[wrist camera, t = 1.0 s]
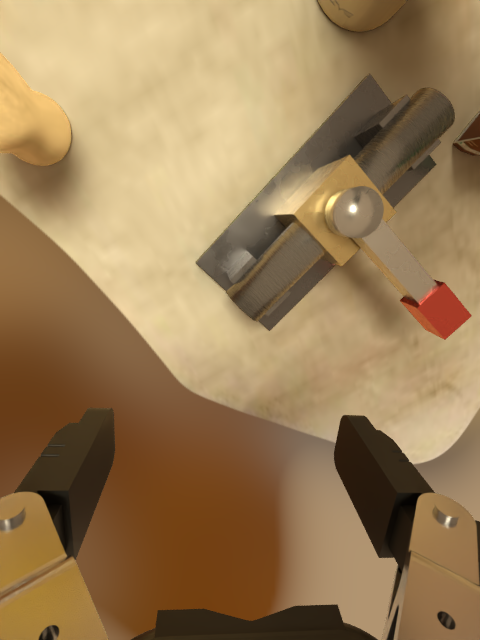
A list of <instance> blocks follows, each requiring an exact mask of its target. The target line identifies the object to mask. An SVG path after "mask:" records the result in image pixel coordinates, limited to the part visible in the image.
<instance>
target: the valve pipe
mask: <svg viewBox="0 0 480 640" xmlns="http://www.w3.org/2000/svg"><path fill="white" fill-rule="evenodd" d="M454 119H455V113H454V109H453V107H452V104H451V103H450V101H449V100H448V99H447V98H446V96H444V95H443V94H442V93H441V92H439V91H437V90H435V89H432V88H422V89H420V90H418V91H417V92H416V93H415V94H414V96H413V97H412V98H411V99H410V98H409V97H408V96H407V95H405V96H403V97H402V98H400V99H398V100H397V101H395V102H394V103H391V102H390V101H389V99H388V98H387V96H386V95H385V94H384V92H383V91H382V90H381V88H380V87H379V85H378V84H377V83H376V81H375V80H374V79H373V77H372V76H371V75H370V74H369V75H367V76H366V77H365V78H364V79H363V80H362V81H361V83H360V84H359V85H358V86H357V87H356V88H355V89H354V90H353V91H352V92H351V93H350V95H349V96H348V97H347V98H346V99H345V100H344V101H343V102H342V103H341V104H340V105H339V106H338V108H337V109H336V110H335V111H334V112H333V113H332V114H331V115H330V116H329V117H328V118H327V120H326V121H325V122H324V123H323V124H322V125H321V126H320V127H319V128H318V129H317V130H316V132H315V133H314V134H313V135H312V136H311V137H310V138H309V139H308V140H307V141H306V142H305V143H304V145H303V146H302V147H301V148H300V149H299V150H298V151H297V152H296V153H295V154H294V155H293V157H292V158H291V159H290V160H289V161H288V162H287V163H286V164H285V165H284V166H283V167H282V169H281V170H280V171H279V172H278V173H277V174H276V175H275V176H274V177H273V178H272V179H271V180H270V182H269V183H268V184H267V185H266V186H265V187H264V188H263V189H262V190H261V191H260V192H259V194H258V195H257V196H256V197H255V198H254V199H253V200H252V201H251V202H250V203H249V204H248V206H247V207H246V208H245V209H244V210H243V211H242V212H241V213H240V214H239V215H238V216H237V217H236V219H235V220H234V221H233V222H232V223H231V224H230V225H229V226H228V227H227V228H226V229H225V231H224V232H223V233H222V234H221V235H220V236H219V237H218V238H217V239H216V240H215V241H214V243H213V244H212V245H211V246H210V247H209V248H208V249H207V250H206V251H205V252H204V253H203V254H202V256H201V257H200V258H199V259H198V260H197V261H196V264H198V265H199V266H200V267H201V268H202V269H203V270H204V271H205V272H206V273H207V274H208V275H209V276H211V277H212V278H213V279H214V280H215V281H216V282H217V283H218V284H219V285H220V286H221V287H223V288H224V289H225V290H226V291H227V294H228V296H229V297H230V298H231V299H232V300H233V302H234V303H235V304H236V305H237V306H238V307H239V308H240V309H241V310H242V311H243V312H245V313H246V314H247V315H248V316H249V317H250V318H252V319H253V320H254V321H256V322H257V321H259V322H261V323H262V324H263V325H264V326H265V327H266V328H267V329H268V330H269V331H270V330H271V329H272V328H273V327H274V326H275V325H276V324H277V323H278V322H279V321H280V320H281V319H282V318H283V317H284V316H285V315H286V314H287V313H288V312H289V311H290V310H291V309H292V308H293V307H294V306H295V305H296V304H297V303H298V302H299V301H300V300H301V299H302V298H303V297H304V296H305V295H306V294H307V293H308V292H309V291H310V290H311V289H312V288H313V287H314V286H315V285H316V284H317V283H318V282H319V281H320V280H321V279H322V278H323V277H324V276H325V275H326V274H327V273H328V272H329V271H330V270H331V269H332V268H333V267H334V266H335V265H339V266H343V265H344V264H345V263H346V262H347V261H348V260H349V259H350V258H351V257H352V256H353V255H354V254H355V253H356V252H357V251H358V250H359V249H360V247H359V245H358V244H357V243H356V242H355V241H354V240H353V239H352V238H350V237H343V236H338V235H336V234H334V233H333V232H332V231H330V229H329V228H328V226H327V224H326V222H325V208H326V205H327V203H328V201H329V199H330V198H331V197H332V196H333V195H334V194H335V193H337V192H338V191H340V190H343V189H348V188H353V187H358V186H366V187H370V188H372V189H374V190H375V191H376V192H377V193H378V194H379V195H380V197H381V199H382V202H383V206H384V213H383V218H382V219H383V220H384V221H385V222H387V221H388V220H389V219H390V218H391V217H392V216H393V215H394V214H395V213H396V211H395V210H394V209H393V207H394V206H395V205H396V204H397V203H398V202H399V201H400V200H401V199H402V198H403V197H404V196H405V195H406V194H407V193H408V192H409V191H410V190H411V189H412V188H413V187H414V186H415V185H416V184H417V183H418V182H419V181H420V180H421V179H422V178H423V177H424V176H425V175H426V174H427V173H428V172H429V171H430V170H431V169H432V168H433V167H434V166H435V165H436V163H435V162H434V161H433V159H432V158H431V157H430V155H429V154H430V153H431V152H432V151H433V150H434V149H435V148H436V147H437V146H438V145H439V144H440V143H441V142H440V141H439V138H440V137H441V135H442V134H443V133H444V132H445V131H446V130H447V129H448V128H449V127H450V126H451V125H452V124H453V122H454Z"/></svg>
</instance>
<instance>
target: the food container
mask: <svg viewBox="0 0 480 640" xmlns="http://www.w3.org/2000/svg"><path fill="white" fill-rule="evenodd" d="M453 145H454V146H456V147H457V148H458V149H459V150H460V151H463V152H466V153H468V154H471V155H480V110H479V112H478V113H477V114H476V115H475V117H474V118H473V119H472V120H471V122H470V123H469V124H468V125H467V126H466V128H465V129H464V130H463V131H462V133H461V134H460V135H459V136H458V138H457V139H456V140H455V141H454V142H453Z"/></svg>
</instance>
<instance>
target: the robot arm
mask: <svg viewBox="0 0 480 640" xmlns="http://www.w3.org/2000/svg"><path fill="white" fill-rule="evenodd" d="M406 1H407V0H318V2H319V4H320V6H321V7H322V9H323V11H324V13H325V14H326V15H327V16H328V17H329V18H330V19H331V20H332V21H333V22H334V23H336V24H337V25H339V26H340V27H342V28H345V29H347V30H350V31H358V32H363V31H368V30H372V29H375V28H377V27H379V26H381V25H383V24H384V23H385V22H387V21H388V20H389V19H390V18H391V17H392V16H393V15H394V14H395V13H396V12H397V11H398V10H399V9H400V8H401V7H402V6H403V5H404V3H405V2H406ZM114 453H115V436H114V412H113V409H112V408H88V409H87V411H86V412H85V414H84V416H83V417H82V419H81V420H80V422H79V423H69V424H67V425H66V426H65V427H63V428H62V429H61V430H59V431H58V432H56V434H55V435H54V437H53V438H52V439H51V441H50V442H49V444H48V446H47V447H46V448H45V449H44V451H43V452H42V453H41V457H39V458H38V459H37V461H36V462H35V464H34V465H33V466H32V468H31V469H30V471H29V472H28V474H27V475H26V476H25V478H24V479H23V481H22V482H21V484H20V485H19V487H18V488H17V489H16V491H15V492H14V494H10V495H7V496H5V497H3V498H0V640H109V639H108V637H107V634H106V632H105V630H104V627H103V625H102V622H101V620H100V618H99V615H98V613H97V611H96V608H95V606H94V604H93V601H92V599H91V596H90V594H89V592H88V589H87V587H86V585H85V583H84V580H83V578H82V575H81V573H80V571H79V568H78V566H77V564H76V561H75V560H76V557H77V555H78V552H79V549H80V547H81V544H82V542H83V539H84V537H85V534H86V532H87V529H88V527H89V524H90V521H91V519H92V516H93V514H94V511H95V508H96V506H97V503H98V501H99V498H100V496H101V493H102V490H103V488H104V485H105V483H106V480H107V478H108V475H109V472H110V470H111V467H112V464H113V459H114ZM334 461H335V466H336V469H337V471H338V474H339V475H340V478H341V480H342V482H343V484H344V486H345V488H346V490H347V492H348V494H349V496H350V499H351V501H352V503H353V505H354V507H355V509H356V511H357V513H358V515H359V517H360V519H361V521H362V524H363V526H364V527H365V530H366V532H367V534H368V536H369V538H370V540H371V542H372V544H373V546H374V548H375V551H376V553H377V555H378V557H379V558H393V557H394V558H395V560H396V562H397V564H398V566H397V569H396V572H395V577H394V582H393V587H392V592H391V597H390V602H389V607H388V612H387V617H386V622H385V627H384V632H383V636H382V640H480V522H479V521H475V520H474V518H473V517H472V515H471V514H470V513H469V512H468V511H467V510H466V509H465V508H464V507H463V506H462V505H460V504H459V503H458V502H456V501H454V500H453V499H451V498H449V497H446V496H444V495H441V494H437V493H435V492H434V491H433V490H432V489H431V487H430V486H429V485H428V483H427V482H426V481H425V480H424V478H423V477H422V476H421V475H420V473H419V472H418V471H417V469H416V468H415V467H414V466H413V464H412V463H411V462H409V459H408V458H407V457H406V456H405V454H404V453H402V450H401V449H400V448H399V447H398V445H397V444H396V443H395V442H394V440H393V439H391V438H390V437H389V436H387V435H386V434H384V433H383V432H382V431H380V430H376V429H375V428H374V427H373V425H372V424H371V423H370V421H369V420H368V419H367V417H365V416H356V415H344V416H342V418H341V421H340V425H339V430H338V435H337V440H336V446H335V451H334ZM131 640H377V639H376V638H375V637H373V636H372V635H370V634H368V633H367V632H365V631H363V630H361V629H359V628H357V627H355V626H352V625H350V624H347V623H343V621H342V617H341V615H340V611H339V609H338V605H311V606H294V607H291V608H288V609H285V610H283V611H280V612H277V613H274V614H271V615H269V616H266V617H263V618H260V619H257V620H254V621H248V620H243V619H240V618H235V617H232V616H228V615H224V614H220V613H217V612H213V611H210V610H206V609H187V610H158V614H157V621H156V628H155V629H152V630H149V631H147V632H144V633H143V634H140V635H138V636H136V637H134V638H133V639H131Z"/></svg>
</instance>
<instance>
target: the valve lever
mask: <svg viewBox="0 0 480 640" xmlns="http://www.w3.org/2000/svg"><path fill="white" fill-rule="evenodd" d="M383 213H384V206H383V202H382V199H381V197H380V195H379V194H378V193H377V192H376V191H375V190H374V189H372V188H370V187H366V186H358V187H353V188H348V189H343V190H340V191H338V192H337V193H335V194H334V195H333V196H332V197H331V198H330V199H329V201H328V203H327V205H326V208H325V222H326V224H327V226H328V228H329V229H330V231H332V232H333V233H334V234H336V235H338V236H343V237H350V238H352V239H353V240H354V241H355V242H356V243H357V244H358V245H359V247H360V248H361V249H362V250H363V251H364V252H365V253H366V254H367V256H368V257H369V258H370V259H371V260H372V261H373V262H374V264H375V265H376V266H377V267H378V268H379V269H380V270H381V271H382V273H383V274H384V275H385V276H386V277H387V278H388V279H389V281H390V282H391V283H392V284H393V285H394V286H395V287H396V288H397V290H398V291H399V292H400V293H401V294H402V295H403V296H404V297H403V298H402V299H401V300H400V302H401V303H402V304H403V305H404V306H405V307H406V308H407V309H408V311H409V312H410V313H411V314H412V315H413V316H414V317H415V318H416V320H417V321H418V322H419V323H420V324H421V325H422V326H423V327H424V328H425V330H427V331H429V332H431V333H433V334H435V335H437V336H439V337H441V338H443V339H446V338H448V337H449V336H450V335H451V334H452V333H453V332H454V331H455V330H456V329H458V328H459V327H460V326H461V325H462V324H463V323H464V322H465V321H467V320H468V319H469V318H470V317H471V314H470V313H469V312H468V311H467V309H466V308H465V307H464V306H463V305H462V303H461V302H460V301H459V300H458V298H457V297H456V296H455V295H454V294H453V292H452V291H451V290H450V289H449V288H448V286H447V285H446V284H445V283H443V282H440V281H436V280H433V279H432V278H431V277H430V275H429V274H428V273H427V272H426V271H425V269H424V268H423V267H422V266H421V265H420V263H419V262H418V261H417V260H416V259H415V257H414V256H413V255H412V254H411V252H410V251H409V250H408V249H407V248H406V246H405V245H404V244H403V243H402V242H401V240H400V239H399V238H398V237H397V236H396V234H395V233H394V232H393V231H392V230H391V228H390V227H389V226H388V225H387V224H386V222H385V221H384V220H383V219H382V218H383Z"/></svg>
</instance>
